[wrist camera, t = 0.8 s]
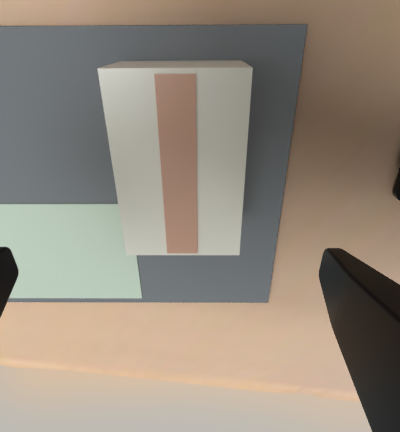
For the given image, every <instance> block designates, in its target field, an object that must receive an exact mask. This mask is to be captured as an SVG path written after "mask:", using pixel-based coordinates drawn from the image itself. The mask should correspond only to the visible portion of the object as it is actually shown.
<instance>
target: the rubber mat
mask: <svg viewBox="0 0 400 432" xmlns="http://www.w3.org/2000/svg"><path fill="white" fill-rule="evenodd" d="M306 31H307V24H277V25H136V26H0V247H8V248H10V249H11V251H12V254H13V256H14V259H15V262H16V264H17V267H18V271H19V274H18V278H17V280H16V283H15V285H14V287H13V290H12V292H11V294H10V297H9V299H8V301H7V302H246V303H268V299H269V292H270V285H271V278H272V271H273V264H274V257H275V250H276V243H277V236H278V229H279V222H280V215H281V208H282V201H283V194H284V187H285V180H286V172H287V165H288V158H289V151H290V144H291V137H292V130H293V123H294V116H295V109H296V102H297V95H298V88H299V81H300V74H301V67H302V60H303V53H304V46H305V38H306ZM195 60H242V61H244V62H245V63H247V64H248V65H250V66H251V67H253V72H252V86H251V100H250V114H249V128H248V142H247V156H246V170H245V184H244V198H243V212H242V226H241V240H240V254H239V255H126V251H125V244H124V238H123V231H122V225H121V218H120V212H119V206H118V199H117V193H116V186H115V180H114V173H113V167H112V160H111V154H110V147H109V141H108V134H107V128H106V121H105V115H104V108H103V102H102V96H101V89H100V83H99V76H98V70H97V68H100V67H103V66H107V65H110V64H113V63H116V62H119V61H195Z"/></svg>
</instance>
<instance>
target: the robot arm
mask: <svg viewBox="0 0 400 432" xmlns="http://www.w3.org/2000/svg"><path fill="white" fill-rule="evenodd" d="M399 171H400V168H399ZM393 195H394V196H395V197H396V198H397V199H398V200H400V172H399V175H398V178H397V181H396V184H395V187H394V190H393ZM18 274H19V271H18V267H17V264H16V262H15V259H14V256H13V254H12V251H11V249H10V248H8V247H0V317H1V315H2V313H3V310H4V308H5V306H6V303H7V301H8V299H9V297H10V294H11V292H12V290H13V287H14V285H15V283H16V280H17V278H18ZM319 279H320V283H321V287H322V291H323V295H324V299H325V302H326V306H327V310H328V314H329V318H330V322H331V325H332V328H333V331H334V334H335V337H336V339H337V342H338V344H339V347H340V349H341V352H342V355H343V357H344V360H345V362H346V365H347V368H348V370H349V373H350V375H351V378H352V380H353V383H354V386H355V388H356V391H357V393H358V396H359V398H360V401H361V404H362V406H363V409H364V411H365V414H366V417H367V419H368V422H369V424H370V427H371V429H372V432H400V285H399V284H397V283H396V282H394V281H393V280H391V279H389V278H388V277H386V276H385V275H383V274H381V273H380V272H378V271H377V270H375V269H373V268H372V267H370V266H368V265H367V264H365V263H364V262H362V261H360V260H359V259H357V258H356V257H354V256H352V255H351V254H349V253H348V252H346V251H344V250H343V249H340V248H327V249H325V251H324V253H323V257H322V261H321V266H320V270H319Z"/></svg>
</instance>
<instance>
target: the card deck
mask: <svg viewBox="0 0 400 432" xmlns="http://www.w3.org/2000/svg"><path fill="white" fill-rule="evenodd" d="M97 70H98V76H99V83H100V89H101V96H102V102H103V108H104V115H105V121H106V128H107V134H108V141H109V147H110V154H111V160H112V167H113V173H114V180H115V186H116V193H117V199H118V206H119V212H120V218H121V225H122V231H123V238H124V244H125V251H126V255H239V254H240V240H241V226H242V212H243V198H244V184H245V170H246V156H247V142H248V128H249V114H250V100H251V86H252V72H253V67H251V66H250V65H248V64H247V63H245V62H244V61H242V60H195V61H119V62H116V63H113V64H110V65H107V66H103V67H100V68H97Z"/></svg>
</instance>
